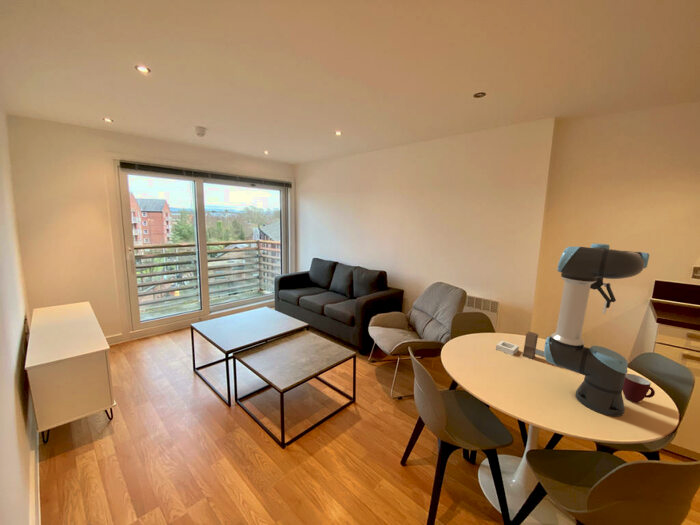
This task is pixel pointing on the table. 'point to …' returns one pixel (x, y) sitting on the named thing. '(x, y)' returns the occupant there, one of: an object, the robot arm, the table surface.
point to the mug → (636, 388)
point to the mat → (539, 352)
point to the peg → (530, 345)
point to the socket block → (507, 347)
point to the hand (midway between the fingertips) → (587, 309)
